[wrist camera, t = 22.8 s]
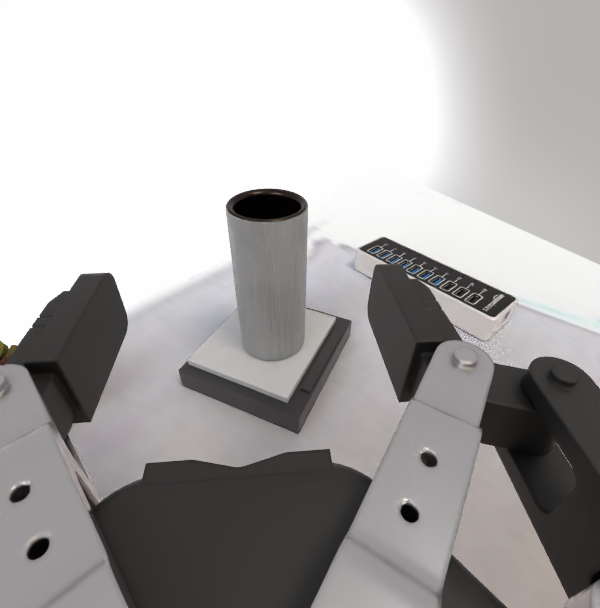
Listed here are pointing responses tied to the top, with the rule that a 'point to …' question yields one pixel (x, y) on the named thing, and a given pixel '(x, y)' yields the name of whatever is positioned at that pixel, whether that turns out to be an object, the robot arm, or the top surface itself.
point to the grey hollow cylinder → (269, 270)
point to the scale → (268, 370)
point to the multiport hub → (444, 287)
